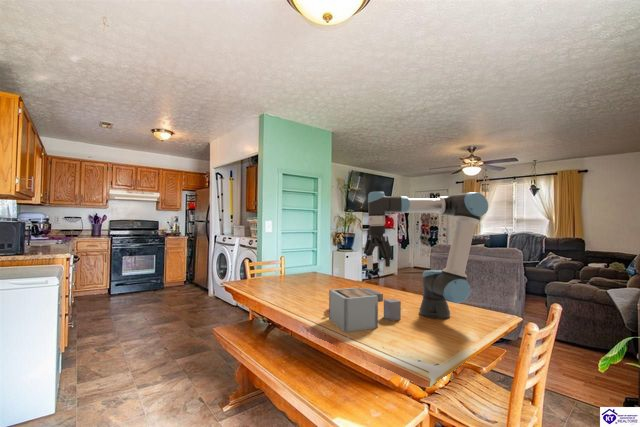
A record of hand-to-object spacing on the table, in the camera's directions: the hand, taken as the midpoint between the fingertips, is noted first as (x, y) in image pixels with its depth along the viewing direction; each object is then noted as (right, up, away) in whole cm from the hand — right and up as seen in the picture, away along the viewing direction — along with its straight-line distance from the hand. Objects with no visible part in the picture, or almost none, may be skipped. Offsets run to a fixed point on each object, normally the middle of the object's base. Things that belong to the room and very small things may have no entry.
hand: (377, 271), depth 137 cm
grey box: (-11, -26, +6) cm, 28 cm away
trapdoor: (-7, -15, +7) cm, 18 cm away
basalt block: (+10, -26, +13) cm, 31 cm away
